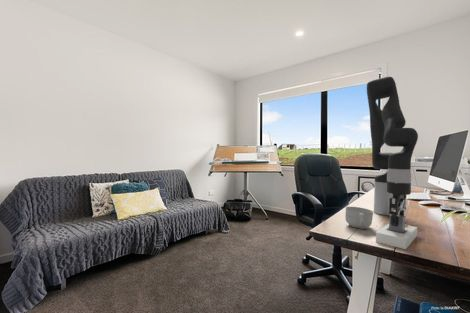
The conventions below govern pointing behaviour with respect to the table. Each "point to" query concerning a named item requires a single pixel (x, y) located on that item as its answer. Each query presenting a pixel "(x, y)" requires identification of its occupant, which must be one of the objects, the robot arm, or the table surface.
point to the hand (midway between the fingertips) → (397, 223)
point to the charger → (400, 227)
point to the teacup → (359, 217)
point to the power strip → (396, 236)
